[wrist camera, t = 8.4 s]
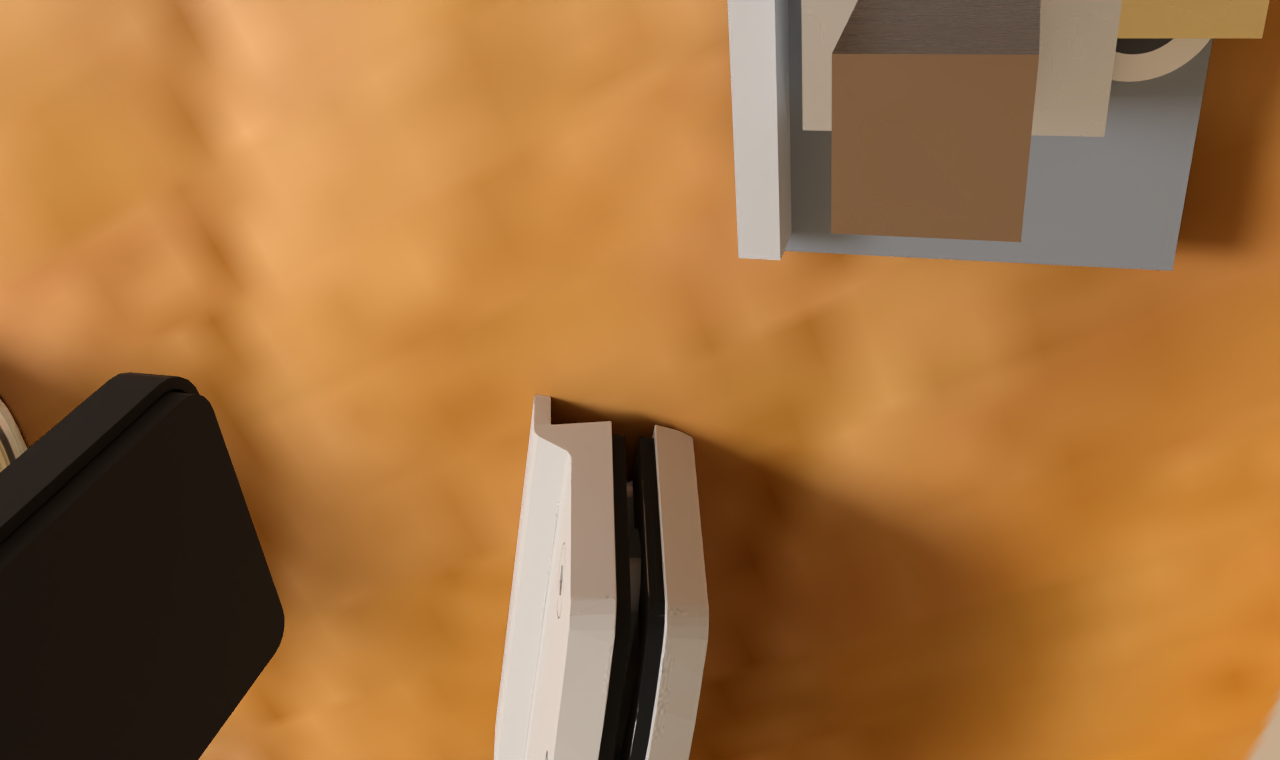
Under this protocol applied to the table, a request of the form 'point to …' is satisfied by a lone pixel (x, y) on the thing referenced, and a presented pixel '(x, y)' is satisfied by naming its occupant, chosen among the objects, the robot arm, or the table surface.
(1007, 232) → the trammel slider
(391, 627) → the table surface
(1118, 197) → the gauge board
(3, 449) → the coffee can
